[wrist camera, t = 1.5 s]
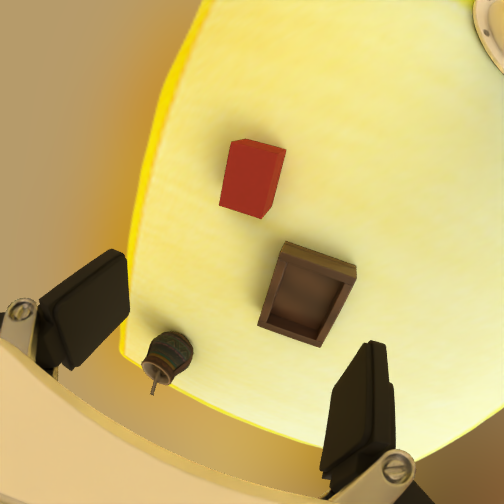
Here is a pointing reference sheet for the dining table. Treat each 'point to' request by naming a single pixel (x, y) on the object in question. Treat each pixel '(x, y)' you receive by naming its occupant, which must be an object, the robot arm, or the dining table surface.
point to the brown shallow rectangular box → (306, 294)
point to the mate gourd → (167, 358)
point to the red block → (251, 177)
